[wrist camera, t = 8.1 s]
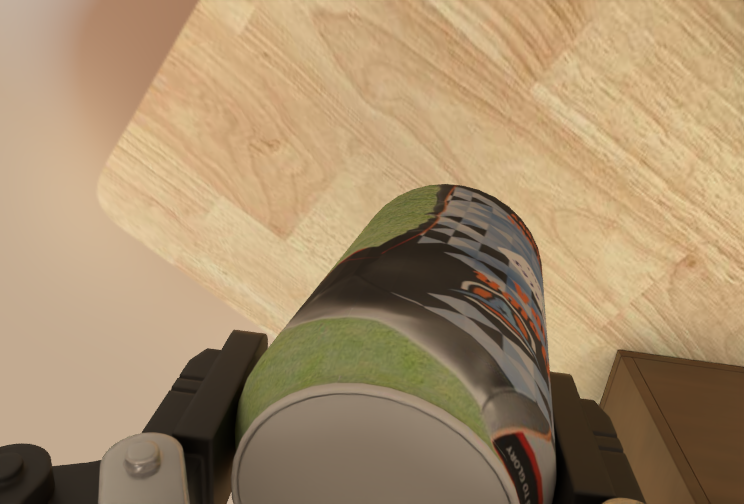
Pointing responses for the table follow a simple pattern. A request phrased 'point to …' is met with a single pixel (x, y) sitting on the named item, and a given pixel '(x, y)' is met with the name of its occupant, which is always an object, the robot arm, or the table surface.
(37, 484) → the robot arm
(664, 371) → the chest
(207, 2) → the table surface
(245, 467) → the beverage can
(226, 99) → the table surface
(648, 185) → the table surface
